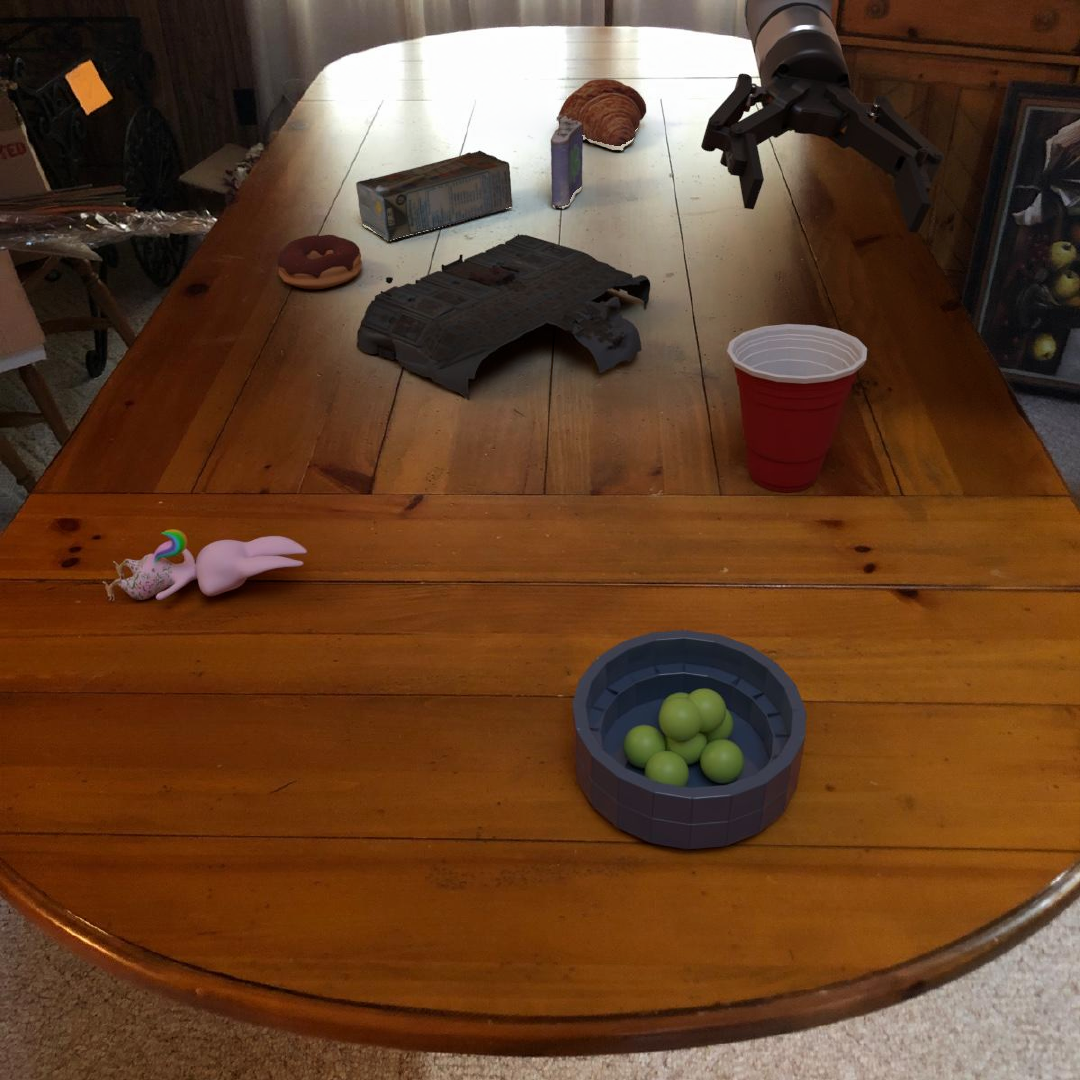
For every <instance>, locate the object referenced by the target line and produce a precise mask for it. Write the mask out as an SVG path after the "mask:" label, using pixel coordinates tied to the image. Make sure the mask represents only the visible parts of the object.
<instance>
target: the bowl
mask: <svg viewBox="0 0 1080 1080" xmlns="http://www.w3.org/2000/svg"><path fill="white" fill-rule="evenodd" d="M698 689H710V690H713V691H715V692H716V693H718V694H719V695H720V696H721V697H722V699H723V700H724V702H725V705H726V709H727V710H728V711H729V712H730V714H731V716H732V718H733V731H732V733H731V735H730V737H729V738H728V739H727V740H729V741H731V742H733V743H735V744H736V745H737V746H738V747H739V748H740V750H741V751H742V753H743V756H744V767H743V770H742V773H741V774H740V776H739V777H738V778H737V779H735V780H734V781H732V782H729V783H717V782H714V781H712V780H710V779H709V778H708V777H707V776H706V775H705V774H704V772H703V771H702V768H701V764H700V760H699V761H698V762H696V763H694V764H690V765H687V766H688V770H689V778H688V781H687V784H686V786H685V787H683V786H677V785H671V784H665V783H658V782H656V781H654V780H651V779H649V778H647V777H645V768H639V767H636V766H634V765H633V764H631V763H630V762H629V761H628V760H627V758H626V756H625V754H624V750H623V742H624V739H625V737H626V735H627V733H628V732H629V731H630V730H631V729H633V728H634V727H636V726H640V725H649V726H652V727H654V728H656V729H657V730H659V731H660V732H661V734H662V735H663V737H664V739H665V734H664V733H663V731H662V730H661V728H660V725H659V713H660V709H661V706H662V703H663V702H664V700H665V699H666V698H667V697H668V696H670V695H672V694H674V693H687V694H690V693H692V692H693V691H695V690H698ZM571 704H572V705H571V706H572V707H571V708H572V709H571V711H572V712H571V714H572V757H573V762H574V763H573V764H574V771H575V776H576V781H577V782H578V784H579V786H580V789H582V791H583V793H584V794H585V796H586V798H587V801H589V804H590V805H591V806H592V807H593V808H594V809H595V810H596V811H597V812H598V813H599V814H601V815H602V816H603V817H604V818H605V819H607V820H608V822H610V823H611V824H612V825H613V826H615V827H616V828H617V829H619V830H621V831H623V832H625V833H628V834H630V835H633V836H635V837H637V838H639V839H641V840H643V841H646V842H648V843H651V844H654V845H660V846H665V847H670V848H671V847H672V848H678V849H683V850H696V849H697V850H698V849H708V848H719V847H726V846H730V845H732V844H736V843H738V842H741V841H743V840H745V839H748V838H750V837H754V836H756V835H758V834H760V833H762V831H764V829H766V828H768V826H770V825H771V824H772V823H773V822H775V820H777V819H778V818H779V817H780V816H781V815H783V814H784V812H785V811H786V808H787V807H788V805H789V803H790V801H791V799H792V797H793V796H794V793H795V791H796V790H797V787H798V782H799V776H800V770H801V765H802V759H803V751H804V746H805V741H806V730H807V729H806V728H807V727H806V726H807V710H806V707H805V704H804V702H803V699H802V697H801V694H800V691H799V689H798V686H797V684H796V683H795V682H794V680H793V679H792V678H791V677H790V675H788V674H787V673H786V672H785V671H784V669H783V668H782V667H781V666H780V665H779V663H777V662H776V661H775V660H773V659H771V658H770V657H768V656H767V655H765V654H764V653H762V652H761V651H759V650H758V649H756V648H754V647H753V646H751V645H749V644H746V643H744V642H742V641H738V640H735V639H733V638H730V637H728V636H724V635H722V634H716V633H710V632H702V631H694V630H687V629H678V630H667V631H666V630H665V631H654V632H648V633H644V634H642V635H639V636H635V637H632V638H629V639H626V640H622V641H621V642H619V643H618V644H615V645H614V646H613V647H611V648H609V649H608V650H607V651H605V652H603V653H602V654H600V655H598V656H597V657H596V658H595V659H594V661H592V662H591V664H590V665H589V666H588V668H587V669H586V670H585V671H584V672H583V674H582V675H581V676H580V678H579V679H578V683H577V686H576V689H575V693H574V696H573V700H572V702H571Z"/></svg>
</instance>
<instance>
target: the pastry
mask: <svg viewBox="0 0 1080 1080" xmlns="http://www.w3.org/2000/svg"><path fill="white" fill-rule="evenodd" d="M646 114H647V103H646V101H645V100H644V98H643V97H642V95H641V94H640V93H639V92H638V90H636V89H635V88H634V87H632V86H630V85H626V84H624V83H623V82H621V81H619V80H616V79H608V78H602V79H591V80H588V81H587V82H585V83H583V84H582V86H580V87H579V88H578V89H576V90H574V92H573V93H571V94H570V95H569V96H568V97H566V99H565V100H564V102H563V104H562V106H561V108H560V110H559V112H558V115H557V117H558V116H560V115H562V117H563V116H567V118H568V119H570V118H572V119H571V120H570V121H579V122H581V123H582V124H583V135H585V137H586V138H587V139H591V140H593V141H597V142H602V143H604V144H609V145H614V146H621V145H622V144H626V142H628V141H630V140H632V139H633V138H634V137H635V138H636V132H635V130H636V129H637V128H638V129H639V127H640V125H641V121H642V120H643V119H644V117H645V115H646ZM562 117H560V118H559V119H558V121H557V122H558V126H559V125H560V123H561V122H560V119H561V118H562ZM635 138H634V139H635Z"/></svg>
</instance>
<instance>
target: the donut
mask: <svg viewBox="0 0 1080 1080" xmlns="http://www.w3.org/2000/svg"><path fill="white" fill-rule="evenodd" d="M277 266H278V267H279V268H278V275H279V277H280V278H281V279H282V281H283V282H285V283H286V284H288V285H290V286H293V287H296V288H299V289H306V290H323V289H328V288H332V287H335V286H338V285H342V284H344V283H347V282H349V281H351V280H352V279H353V278H354V277H356V276H357V275H358V274H359V272H360V271H361V269H362V266H363V262H362V254H361V249H360V246H358V245H357V244H356V242H354V241H352V240H351V239H347V238H344V237H339V236H337V235H335V234H323V235H315V234H314V235H307V236H303V237H300V238H297V239H294V240H291V241H289V242H288V243H287V244H286V245H285V246H284V247H283V249H281V250H280V252H279V254H278V257H277Z"/></svg>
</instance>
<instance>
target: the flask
mask: <svg viewBox="0 0 1080 1080" xmlns="http://www.w3.org/2000/svg"><path fill="white" fill-rule="evenodd" d="M560 117H562V115H560V116H558V115H557V116H556V119H555V120H556V122H558V119H559V118H560ZM571 119H572V118H570V119H568V118H567V116H563V117H562V118H561V119H560V122H561V123H560V125H559V124H558V127H557V129H556V130H555V131H554V133H552V136H551V138H550V171H551V172H550V174H551V175H550V176H551V185H550V186H551V201H550V202H551V206H552V205H554V206H555V207H556V206H558V207H561V206H565V205H568V204H569V203H570V199H571V197H572V195H573V193H574V192H575V191H576V190H577V189H579V188H580V187H581V186H582V187H583V157H584V156H583V150H584V149H583V147H584V146H583V143H584V141H583V136H582V135H583V124H582V123H581V122H579V121H570V120H571ZM558 207H557V208H558Z"/></svg>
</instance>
